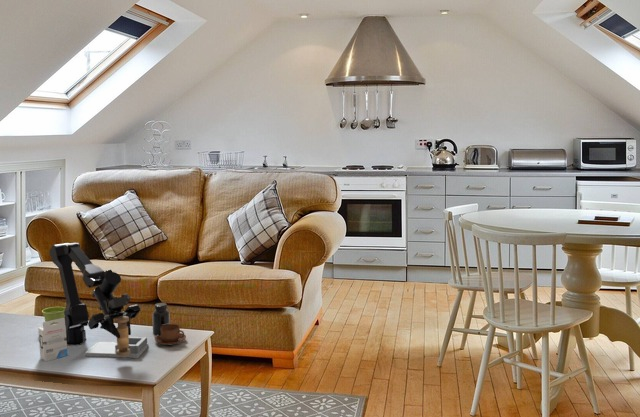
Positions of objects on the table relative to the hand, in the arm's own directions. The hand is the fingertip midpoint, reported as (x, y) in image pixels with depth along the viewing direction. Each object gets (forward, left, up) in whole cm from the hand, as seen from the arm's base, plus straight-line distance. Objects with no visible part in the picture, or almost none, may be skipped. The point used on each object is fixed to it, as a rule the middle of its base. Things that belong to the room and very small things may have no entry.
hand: (124, 336), depth 243 cm
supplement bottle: (+2, +35, -11) cm, 36 cm away
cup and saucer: (+9, +25, -11) cm, 28 cm away
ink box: (-29, +5, -11) cm, 32 cm away
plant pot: (-43, +35, -11) cm, 56 cm away
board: (-8, +13, -10) cm, 19 cm away
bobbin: (-1, +1, -7) cm, 7 cm away
